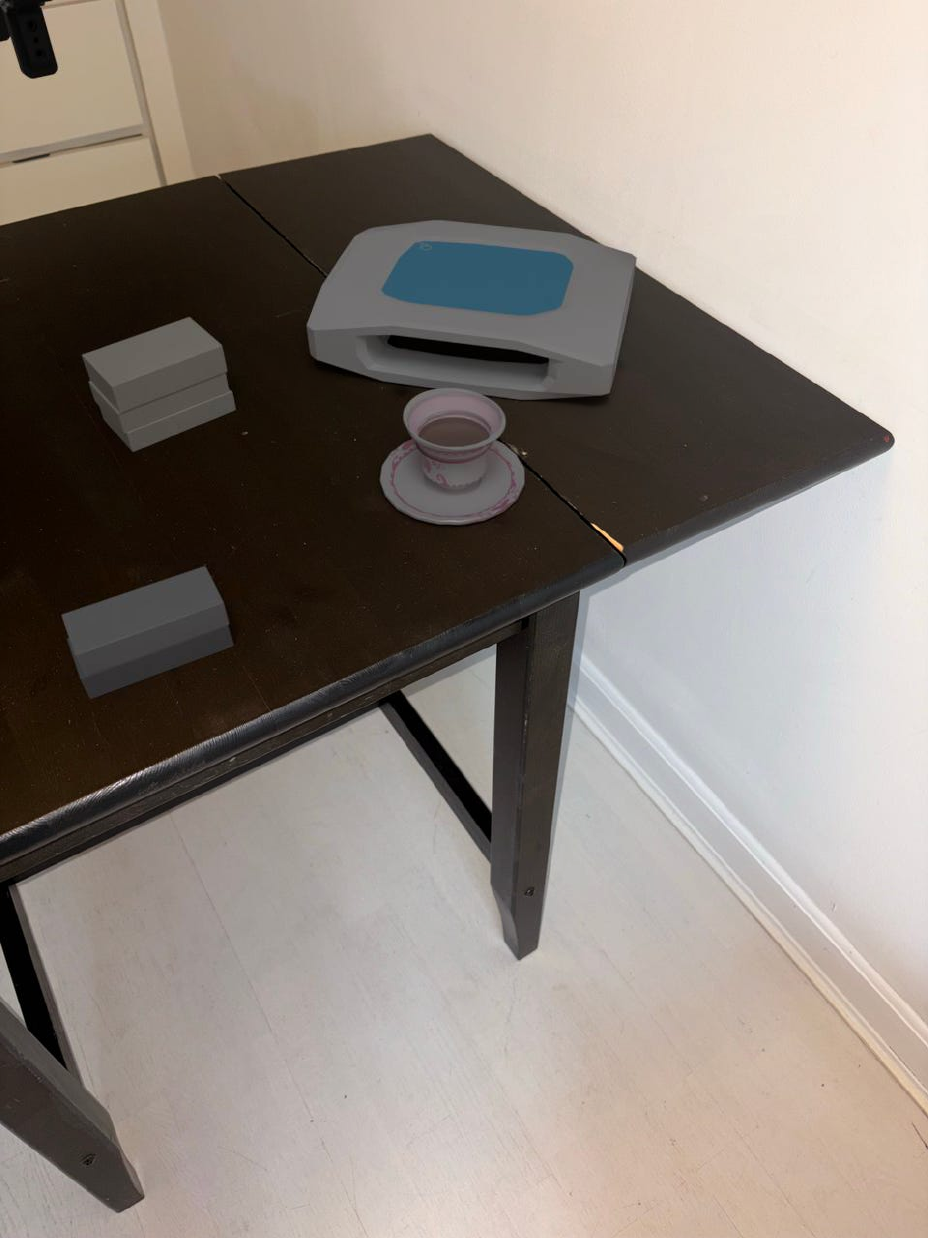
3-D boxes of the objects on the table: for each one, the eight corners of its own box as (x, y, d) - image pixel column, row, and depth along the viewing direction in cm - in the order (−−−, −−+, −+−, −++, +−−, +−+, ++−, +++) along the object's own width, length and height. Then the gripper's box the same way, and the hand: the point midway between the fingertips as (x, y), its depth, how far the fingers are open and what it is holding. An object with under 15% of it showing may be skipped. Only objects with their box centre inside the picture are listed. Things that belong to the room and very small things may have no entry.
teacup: (554, 481, 79) (560, 419, 74) (448, 549, 73) (447, 486, 69) (456, 419, 85) (455, 358, 80) (350, 477, 79) (343, 415, 75)
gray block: (90, 699, 63) (70, 657, 60) (76, 659, 66) (56, 616, 62) (235, 645, 66) (223, 602, 63) (217, 609, 69) (205, 565, 66)
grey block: (130, 453, 81) (118, 414, 78) (101, 420, 85) (88, 381, 82) (236, 410, 86) (228, 371, 83) (204, 380, 89) (195, 342, 86)
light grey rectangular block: (120, 413, 78) (111, 386, 77) (90, 381, 82) (81, 354, 80) (228, 371, 83) (222, 345, 81) (195, 342, 86) (189, 316, 84)
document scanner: (606, 412, 85) (614, 351, 81) (310, 373, 90) (301, 312, 85) (631, 297, 99) (639, 238, 95) (374, 267, 104) (369, 210, 99)
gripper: (-190, -279, 54) (-73, 41, 66) (-119, -257, 47) (-1, 100, 58) (-56, -286, 57) (32, 21, 69) (31, -266, 50) (114, 75, 62)
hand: (17, 57), depth 64 cm, fingers open, 8 cm apart
